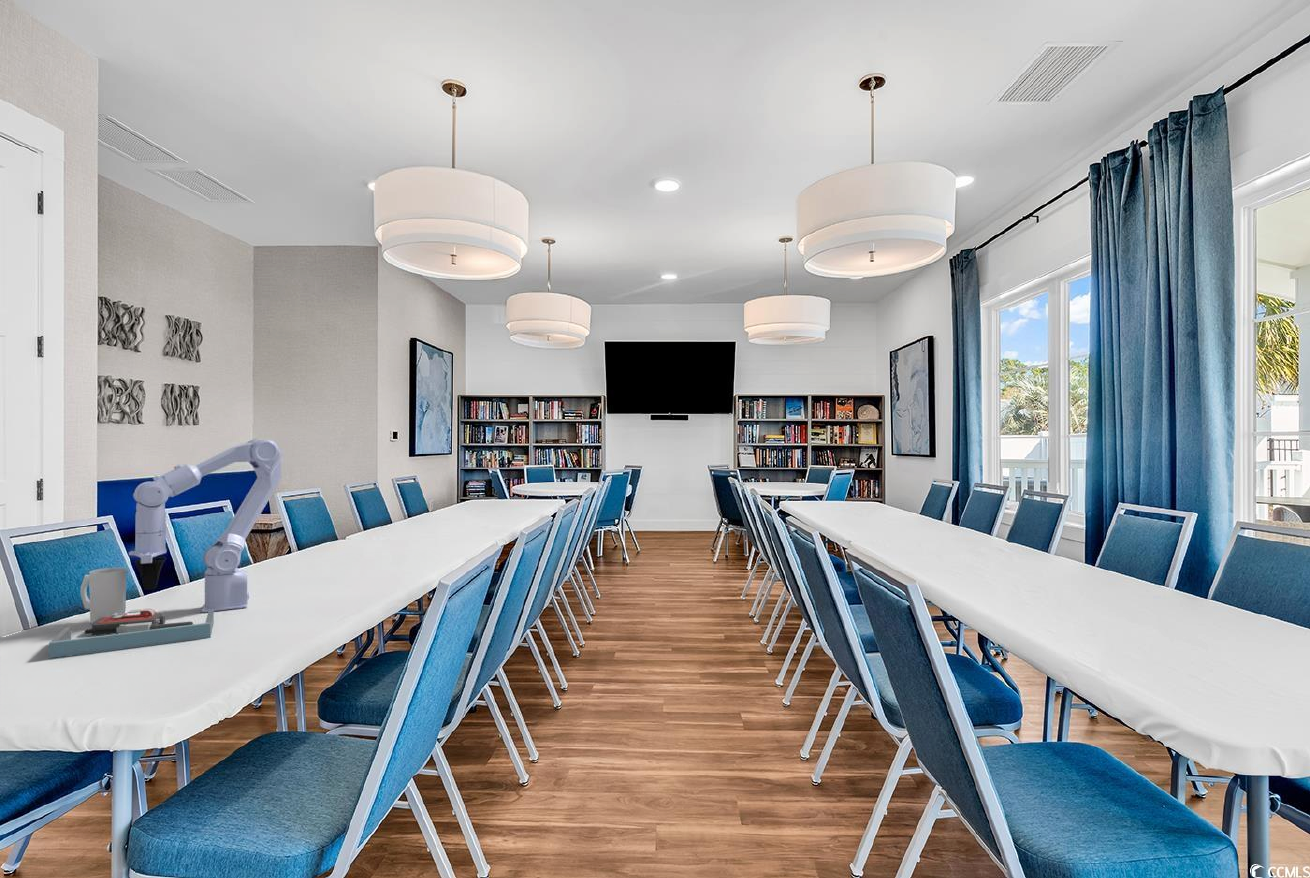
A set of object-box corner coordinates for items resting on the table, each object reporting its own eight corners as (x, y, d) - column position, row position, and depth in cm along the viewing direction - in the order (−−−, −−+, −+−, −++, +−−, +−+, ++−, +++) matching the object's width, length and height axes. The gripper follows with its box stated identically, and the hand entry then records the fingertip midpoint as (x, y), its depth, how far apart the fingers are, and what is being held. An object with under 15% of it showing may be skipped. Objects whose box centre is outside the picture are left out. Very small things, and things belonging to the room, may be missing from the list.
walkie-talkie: (79, 641, 139) (191, 630, 147) (79, 620, 139) (191, 611, 147) (96, 630, 147) (201, 620, 155) (96, 610, 147) (201, 602, 155)
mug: (134, 617, 156) (134, 567, 156) (108, 625, 149) (108, 573, 149) (94, 617, 157) (94, 567, 157) (67, 624, 150) (67, 572, 150)
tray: (213, 623, 151) (213, 610, 151) (210, 637, 140) (210, 623, 140) (64, 642, 137) (64, 627, 137) (48, 658, 127) (48, 643, 127)
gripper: (134, 529, 159) (133, 585, 159) (124, 537, 147) (123, 597, 147) (170, 527, 163) (169, 582, 163) (163, 534, 151) (162, 593, 151)
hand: (150, 589), depth 155 cm, fingers closed
